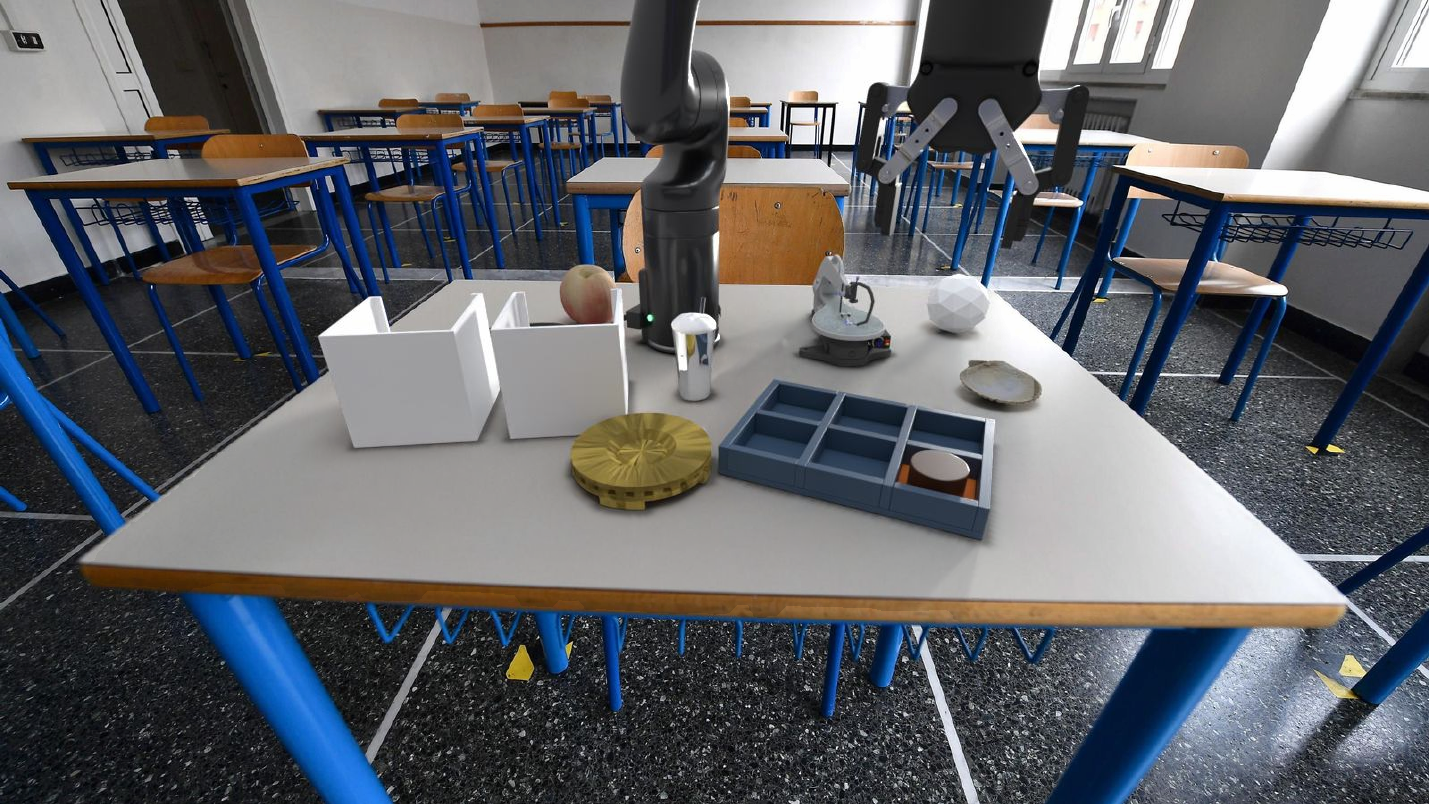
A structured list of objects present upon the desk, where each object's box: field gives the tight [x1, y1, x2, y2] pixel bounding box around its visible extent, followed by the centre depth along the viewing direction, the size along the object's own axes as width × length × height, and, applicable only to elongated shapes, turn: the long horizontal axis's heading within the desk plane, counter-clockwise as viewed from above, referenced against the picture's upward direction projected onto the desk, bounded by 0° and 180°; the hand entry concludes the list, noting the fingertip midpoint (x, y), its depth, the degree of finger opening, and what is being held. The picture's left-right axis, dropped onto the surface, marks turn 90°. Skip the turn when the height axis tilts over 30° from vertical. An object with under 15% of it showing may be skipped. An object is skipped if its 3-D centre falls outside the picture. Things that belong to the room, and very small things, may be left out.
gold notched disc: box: [569, 412, 712, 511], centre depth 52 cm, size 12×12×2 cm
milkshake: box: [671, 297, 716, 402], centre depth 63 cm, size 4×5×10 cm
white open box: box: [317, 288, 629, 449], centre depth 59 cm, size 25×11×11 cm, turn 97°
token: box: [906, 450, 969, 497], centre depth 48 cm, size 4×4×2 cm
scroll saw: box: [798, 254, 892, 367], centre depth 77 cm, size 20×11×12 cm
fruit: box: [559, 264, 618, 325], centre depth 83 cm, size 8×8×8 cm
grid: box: [717, 379, 996, 541], centre depth 53 cm, size 21×14×3 cm
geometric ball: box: [926, 273, 991, 335], centre depth 81 cm, size 8×8×8 cm
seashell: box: [959, 359, 1043, 405], centre depth 64 cm, size 8×3×8 cm
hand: (944, 240), depth 45 cm, fingers open, 8 cm apart
